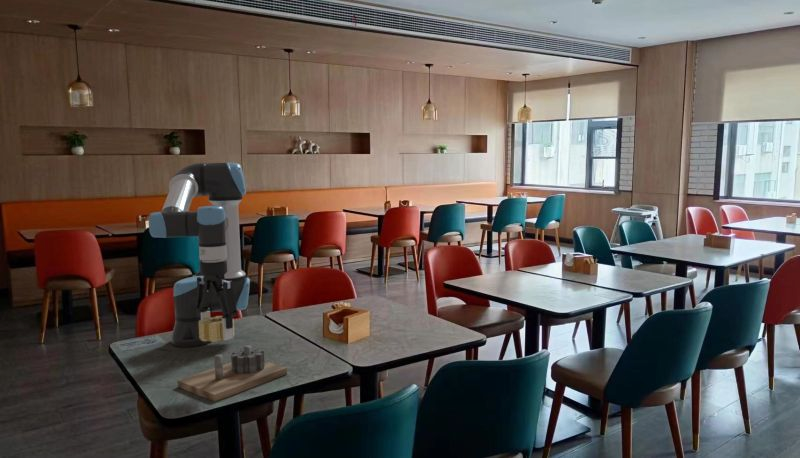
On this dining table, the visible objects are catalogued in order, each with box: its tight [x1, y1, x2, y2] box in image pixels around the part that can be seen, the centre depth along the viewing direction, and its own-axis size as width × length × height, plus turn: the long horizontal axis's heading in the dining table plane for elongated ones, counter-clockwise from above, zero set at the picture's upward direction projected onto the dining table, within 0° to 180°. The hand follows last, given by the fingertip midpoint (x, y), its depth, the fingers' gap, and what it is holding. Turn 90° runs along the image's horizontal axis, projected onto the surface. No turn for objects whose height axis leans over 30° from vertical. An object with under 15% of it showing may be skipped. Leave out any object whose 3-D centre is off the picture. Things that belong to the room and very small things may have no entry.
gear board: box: [177, 344, 288, 403], centre depth 180 cm, size 18×26×9 cm
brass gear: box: [199, 315, 235, 343], centre depth 175 cm, size 10×10×5 cm
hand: (217, 336), depth 175 cm, fingers closed on brass gear, 10 cm apart
